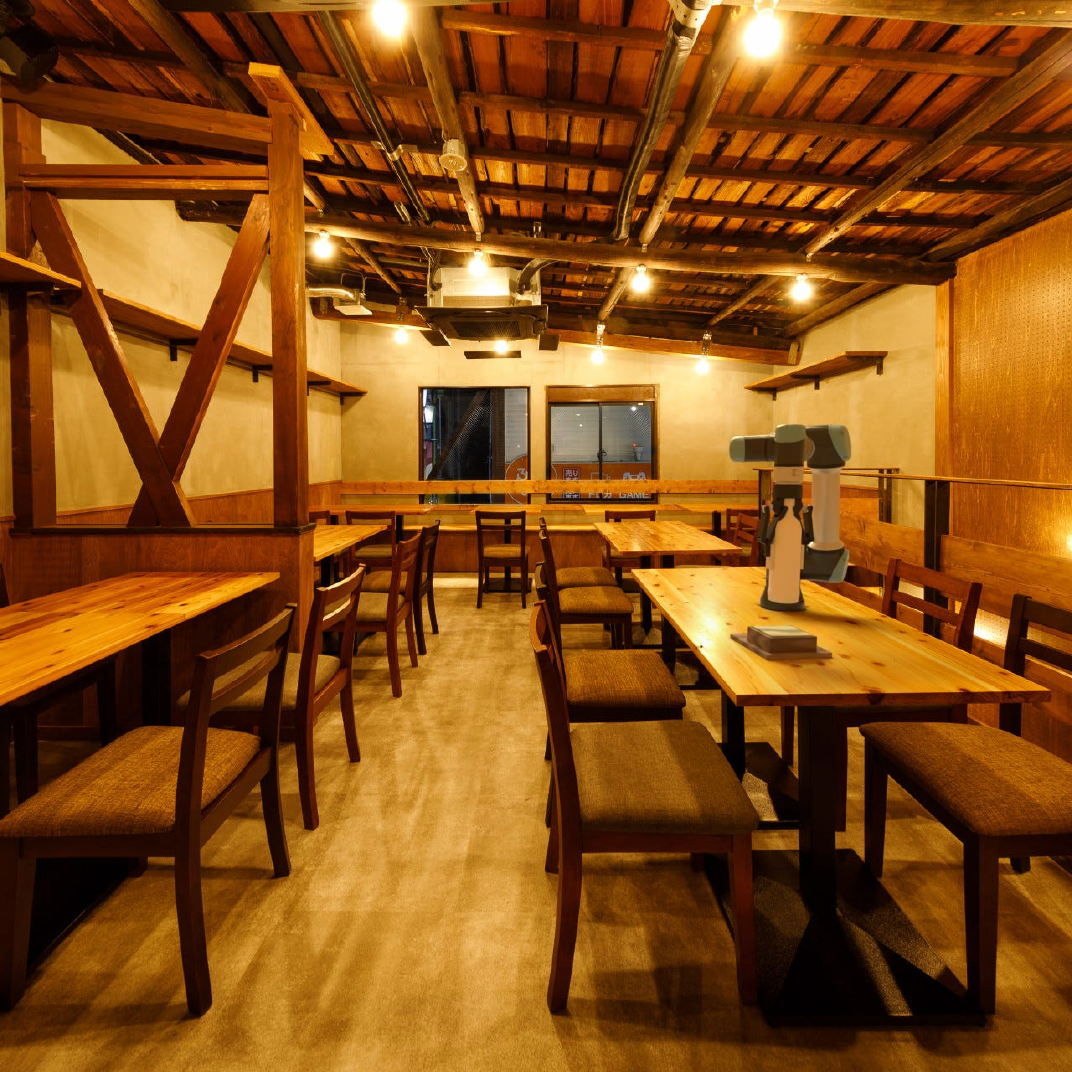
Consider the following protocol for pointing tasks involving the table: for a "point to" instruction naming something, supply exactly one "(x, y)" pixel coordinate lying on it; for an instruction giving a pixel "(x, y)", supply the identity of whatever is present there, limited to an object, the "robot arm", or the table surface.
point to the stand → (781, 642)
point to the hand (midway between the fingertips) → (784, 568)
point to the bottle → (786, 558)
